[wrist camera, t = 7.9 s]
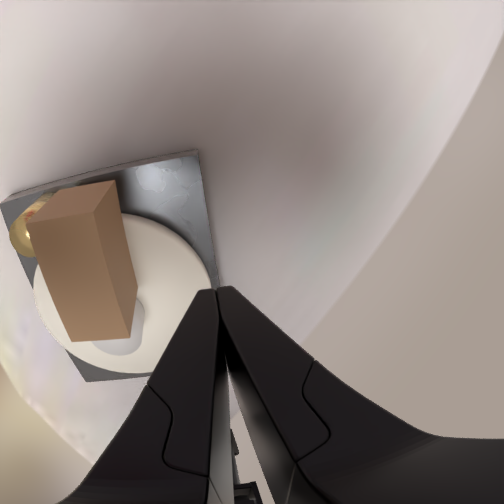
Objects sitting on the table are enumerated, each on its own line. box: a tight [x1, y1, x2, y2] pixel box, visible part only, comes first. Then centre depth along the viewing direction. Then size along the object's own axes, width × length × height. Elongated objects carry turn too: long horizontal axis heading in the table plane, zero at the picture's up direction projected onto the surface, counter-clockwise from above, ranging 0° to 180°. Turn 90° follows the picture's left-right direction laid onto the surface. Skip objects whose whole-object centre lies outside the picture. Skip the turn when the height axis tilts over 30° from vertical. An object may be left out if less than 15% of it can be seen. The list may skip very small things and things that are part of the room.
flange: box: [26, 180, 211, 373], centre depth 16 cm, size 11×13×5 cm
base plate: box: [0, 149, 227, 382], centre depth 19 cm, size 15×12×2 cm
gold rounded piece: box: [9, 192, 55, 257], centre depth 14 cm, size 2×2×4 cm
